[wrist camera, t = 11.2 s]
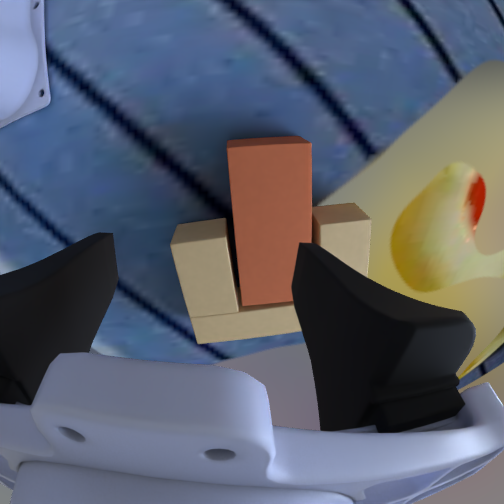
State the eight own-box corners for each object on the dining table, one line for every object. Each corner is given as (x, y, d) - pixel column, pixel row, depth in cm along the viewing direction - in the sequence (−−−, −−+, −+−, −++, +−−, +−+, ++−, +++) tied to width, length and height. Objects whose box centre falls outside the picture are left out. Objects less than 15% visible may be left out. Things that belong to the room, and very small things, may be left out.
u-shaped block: (177, 224, 20) (169, 244, 17) (354, 202, 20) (371, 218, 18) (200, 317, 24) (197, 344, 21) (349, 296, 24) (362, 320, 21)
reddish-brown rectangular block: (300, 275, 23) (309, 299, 20) (240, 281, 23) (242, 306, 20) (299, 135, 18) (311, 142, 15) (226, 140, 18) (226, 147, 15)
